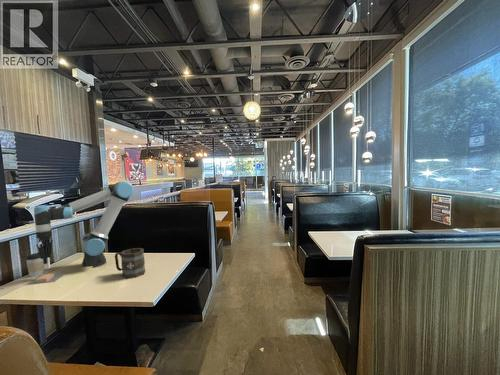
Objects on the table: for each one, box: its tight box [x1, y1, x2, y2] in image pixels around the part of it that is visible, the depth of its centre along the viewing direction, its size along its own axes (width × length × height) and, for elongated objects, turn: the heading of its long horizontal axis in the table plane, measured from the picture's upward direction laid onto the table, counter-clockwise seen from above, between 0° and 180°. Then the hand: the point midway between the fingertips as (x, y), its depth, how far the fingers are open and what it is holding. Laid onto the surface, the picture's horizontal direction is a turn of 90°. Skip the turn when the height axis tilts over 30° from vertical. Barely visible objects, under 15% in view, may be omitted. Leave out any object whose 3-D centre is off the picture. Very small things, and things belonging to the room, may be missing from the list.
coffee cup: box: [25, 251, 44, 278], centre depth 170 cm, size 9×9×15 cm
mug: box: [114, 247, 146, 279], centre depth 165 cm, size 20×14×15 cm
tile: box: [34, 273, 55, 283], centre depth 160 cm, size 6×2×8 cm
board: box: [24, 272, 69, 286], centre depth 162 cm, size 16×16×1 cm
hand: (47, 268), depth 163 cm, fingers closed
